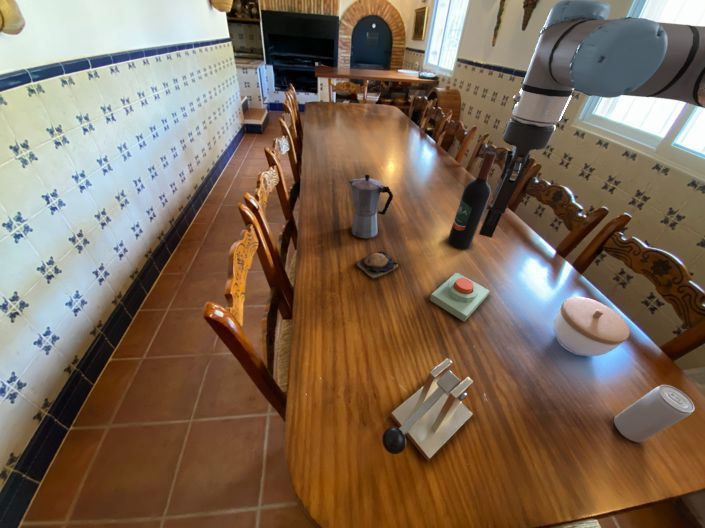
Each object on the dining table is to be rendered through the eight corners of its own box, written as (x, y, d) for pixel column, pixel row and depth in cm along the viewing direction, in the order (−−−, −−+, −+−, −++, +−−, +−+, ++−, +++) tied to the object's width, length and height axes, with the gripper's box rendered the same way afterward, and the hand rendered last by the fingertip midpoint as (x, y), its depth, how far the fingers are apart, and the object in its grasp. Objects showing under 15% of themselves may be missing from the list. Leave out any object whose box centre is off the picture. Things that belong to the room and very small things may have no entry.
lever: (395, 460, 45) (391, 460, 42) (380, 439, 47) (374, 437, 44) (463, 387, 47) (463, 382, 45) (445, 371, 49) (444, 365, 47)
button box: (464, 322, 73) (469, 311, 70) (429, 300, 78) (433, 289, 75) (487, 296, 80) (492, 285, 78) (454, 277, 85) (458, 267, 83)
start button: (466, 297, 74) (468, 292, 73) (451, 288, 76) (452, 283, 75) (474, 288, 77) (476, 284, 76) (459, 280, 79) (461, 275, 78)
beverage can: (636, 449, 52) (690, 419, 45) (607, 424, 55) (652, 392, 48) (647, 434, 54) (700, 403, 47) (618, 411, 57) (664, 378, 50)
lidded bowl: (570, 370, 64) (601, 339, 57) (532, 324, 73) (554, 293, 66) (617, 362, 66) (652, 331, 59) (574, 318, 76) (600, 287, 69)
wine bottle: (469, 251, 96) (506, 159, 77) (446, 245, 98) (476, 154, 79) (471, 239, 101) (505, 151, 82) (448, 234, 103) (477, 146, 84)
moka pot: (351, 219, 106) (355, 165, 94) (391, 232, 102) (401, 176, 89) (339, 232, 100) (341, 175, 87) (381, 246, 95) (390, 188, 82)
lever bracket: (427, 461, 49) (450, 426, 40) (390, 416, 54) (403, 375, 45) (470, 417, 55) (498, 377, 46) (433, 380, 60) (452, 338, 51)
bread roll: (373, 281, 82) (374, 271, 80) (354, 264, 87) (355, 254, 85) (400, 267, 87) (402, 257, 85) (381, 252, 92) (383, 243, 90)
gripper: (511, 110, 57) (471, 217, 72) (509, 124, 47) (464, 244, 62) (554, 116, 55) (504, 225, 70) (560, 133, 45) (501, 255, 60)
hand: (485, 234), depth 66 cm, fingers closed
